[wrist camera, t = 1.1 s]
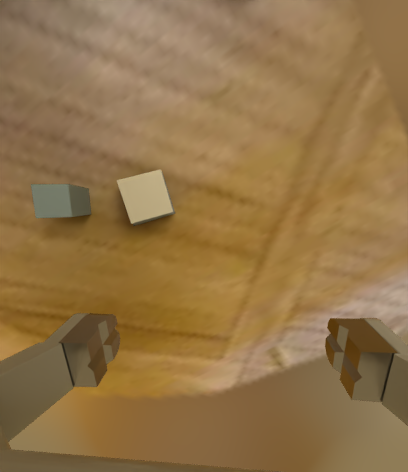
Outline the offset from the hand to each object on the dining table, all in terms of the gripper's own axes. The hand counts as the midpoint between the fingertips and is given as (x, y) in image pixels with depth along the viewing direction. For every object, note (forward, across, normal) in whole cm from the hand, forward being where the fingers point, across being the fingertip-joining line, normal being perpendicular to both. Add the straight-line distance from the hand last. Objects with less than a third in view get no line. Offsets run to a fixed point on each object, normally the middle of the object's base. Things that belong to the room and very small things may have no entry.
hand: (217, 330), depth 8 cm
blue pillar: (+32, +28, -2) cm, 42 cm away
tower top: (+31, +13, -3) cm, 34 cm away
